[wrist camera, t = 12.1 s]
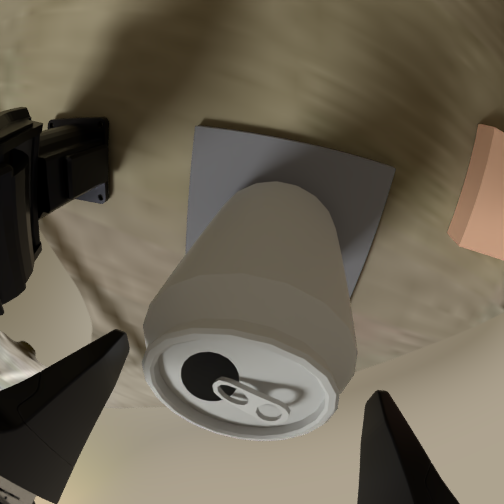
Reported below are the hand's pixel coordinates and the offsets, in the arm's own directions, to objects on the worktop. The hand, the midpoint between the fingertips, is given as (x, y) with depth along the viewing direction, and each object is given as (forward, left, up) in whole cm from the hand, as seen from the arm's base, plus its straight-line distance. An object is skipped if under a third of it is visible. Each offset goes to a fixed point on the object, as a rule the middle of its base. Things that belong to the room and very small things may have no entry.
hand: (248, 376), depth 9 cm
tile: (+11, +7, -10) cm, 17 cm away
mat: (0, 0, -11) cm, 11 cm away
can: (0, 0, -11) cm, 11 cm away
